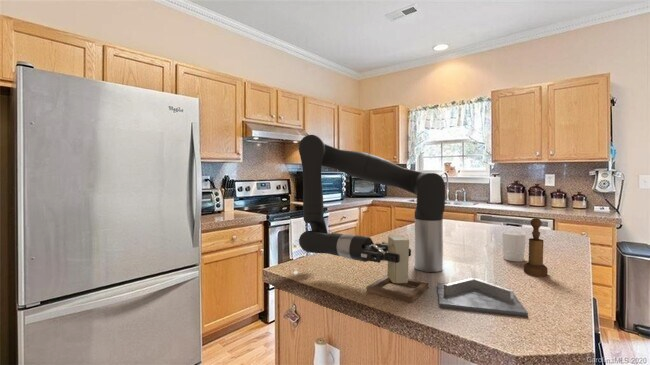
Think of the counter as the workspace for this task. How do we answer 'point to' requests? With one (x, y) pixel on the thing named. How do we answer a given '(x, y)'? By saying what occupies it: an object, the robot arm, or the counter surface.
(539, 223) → the mortar and pestle
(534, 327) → the counter surface
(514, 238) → the white cup
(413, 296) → the square wooden frame
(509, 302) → the grey corner stand
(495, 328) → the counter surface
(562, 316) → the counter surface
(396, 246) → the skincare box
